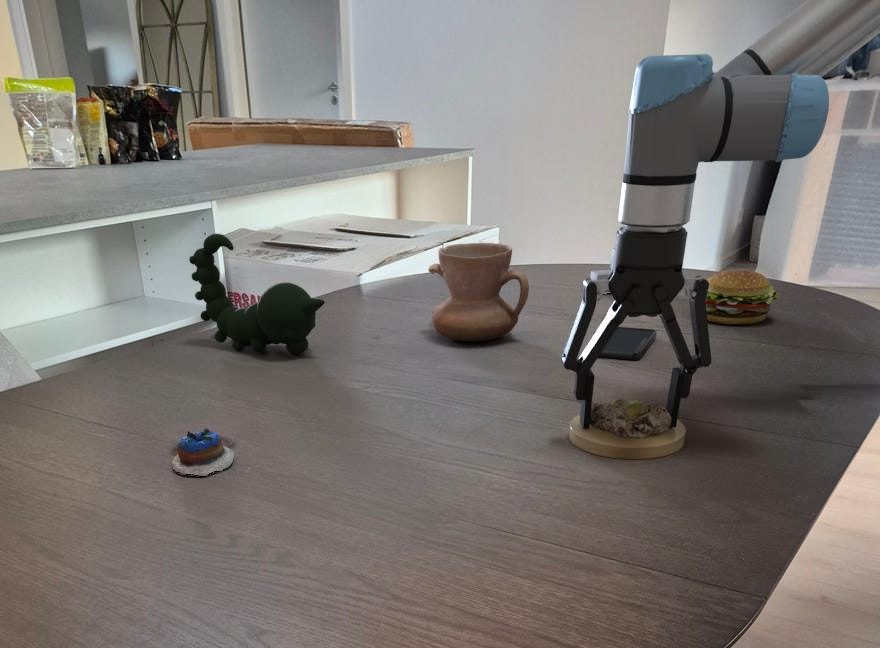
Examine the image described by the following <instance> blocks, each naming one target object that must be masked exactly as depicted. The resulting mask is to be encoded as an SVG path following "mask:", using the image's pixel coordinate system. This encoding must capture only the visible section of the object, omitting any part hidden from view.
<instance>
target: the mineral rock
mask: <svg viewBox="0 0 880 648" xmlns="http://www.w3.org/2000/svg"><path fill="white" fill-rule="evenodd" d="M590 425H592V426H593V427H595V428H596V427H597V428H599V429H601V430H606V431H611V432H614V433H616V434H617V435H619V436H622V437H629V438H632V437H638V438H645V437H646V436H648V435H649V434H655V433H659V432H660V433H661V432H663V431H664V430H667V429H668V427H669V426H670V425H671V417H670V414H669V413H667V410H666V407H664V406H659V405H658V404H656V405H655V404H652V403H651V404H645V403H643V400H642V399H636V400H631V401H629V400H627V399H624V398H617V399H616V400H614V401H613V402H607V403H599V402H593V401H592V406H591V416H590Z"/></svg>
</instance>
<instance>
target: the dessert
mask: <svg viewBox="0 0 880 648" xmlns="http://www.w3.org/2000/svg"><path fill="white" fill-rule="evenodd" d="M186 434H187V435H186V436H184V437H183V438H181V439H180V441H179V442H178V444H177V446H176V451H177V454H176V455H175V456H174V458H173V459H172V461H171V468H172V467H173V468H174V469H175V470H176V471H178V472H181V473H183V474H182V475H186V474H191V475H190V476H194V475H196V474H199V473H200V474H208V473H211V472H213V473H215V472H214V471H219V470H223V469H225V468H226V469H227V468H229V466H231V465H232V463H233V461H234V458H235V452H234V451H233V450H232V449H231V448H229V447H227V446H224V443H223V440H222V437H221V435H219V434H218V433H216V431H212V430H210V429H208V427H207V428H205V429H203V430H200V431H199V432H198V431H196V432H191V431H189V430H187V433H186ZM226 469H225V470H226ZM199 471H200V472H199ZM192 474H194V475H192Z"/></svg>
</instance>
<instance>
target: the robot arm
mask: <svg viewBox="0 0 880 648" xmlns="http://www.w3.org/2000/svg"><path fill="white" fill-rule="evenodd" d="M879 34H880V0H805V2H803V3H802V4H801V5H799V6H798V7H797V8H795V9H794V10H793V11H791V13H789V14H788V15H787V16H785V17H784V18H783V19H782V20H780V21H779V22H778V23H777V24H775V25H774V26H773V27H771V28H770V29H769V30H768V31H767V32H765V33H764V34H762V35H761V36H760V37H759V38H758V39H757V40H755V41H754V42H753V43H752V44H750V45H749V46H748V47H747V48H745V50H744V51H742V52H741V53H740V54H738V55H737V56H735V57H734V58H733V59H731V60H730V61H729V62H727V63H726V64H725V65H724V66H722V67H721V68H720V69H719V70H717V71H716V72H714V70H713V66H714V59H713V57H712V56H711V55H710V54H707V53H701V54H699V53H698V54H697V53H696V54H666V55H665V54H664V55H661V54H660V55H649V56H646V57H644V58H642V59H641V60H640V62H639V63H638V64H637V66H636V68H635V73H634V78H633V83H632V90H631V96H630V102H629V103H630V104H629V107H628V111H627V114H628V121H627V135H626V143H625V144H626V146H625V156H624V167H623V168H624V169H623V175H622V184H621V191H620V192H621V193H620V200H619V208H618V209H619V210H618V218H617V220H618V222H619V223H620V224H621V225H622V226H621V227H619V228H618V230H617V231H616V236H615V245H614V248H615V253H614V263H613V269H611V270H612V272H611V274H610V276H609V277H608V279H603V280H592V279H590V278H589V277H588V278H585V279H584V280H583V282H582V299H581V302H580V305H579V307H578V310H577V313H576V316H575V319H574V321H573V325H572V326H571V327H572V328H571V330H570V333H569V336H568V339H567V341H566V344H565V348H564V349H563V352H562V355H561V358H560V362H561V363H562V366H563V367H564V369H565V370H566V371H573V372H574V373H575V375H574V387H573V395H574V398H575V399H576V401H581V403H580V412H579V413H580V414H579V415H580V423H581V426H582V428H583V429H589V426H590V416H591V406H592V402H593V396H594V385H595V376H596V375H595V374H594V372H593V370H592V368H593V366H594V364H595V362H597V360H598V358H600V357H599V355H600V354H601V352H602V351H603V349H604V348H605V346H606V345H607V343H608V341H609V340H610V338H611V337H612V335H613V334H614V332H615V331H616V329H617V328H618V327H620V325H623V323H624V321H625V320H626V319H627V317H629V318H638V317H641V316H645V317H649V318H654V317H655V318H657V317H659V318H660V320H661V322H662V325H663V327H664V330H665V332H666V334H667V337H668V339H669V341H670V344H671V347H672V350H673V351H674V354H675V357H676V358H677V361H678V363H679V367H677V366H675V367H672V369H671V375H670V382H669V387H668V388H669V389H668V395H667V401H666V407H665V409H666V410H667V413H669V414H670V417H671V425H670V426H669V427H676V425H677V420H678V418H679V412H680V407H681V406H680V405H681V399H688V397H689V396H690V393H691V386H692V381H693V375H695V374H696V372H697V371H698V369H700V368H703V367H704V368H708V367H710V365H711V364H712V362H713V361H712V360H713V359H712V351H711V341H710V333H709V325H708V322H709V321H707V313H706V303H705V301H706V296H707V292H708V288H709V282H708V281H707V279H706V278H705V277H704V276H702V275H696V276H694V277H685V276H684V274H683V266H684V260H685V259H684V258H685V254H686V253H685V252H686V247H687V240H688V230H687V229H686V228H685V227H684V225H687V224H688V223H689V222H690V221H691V214H692V207H693V198H694V192H695V185H696V180H697V176H698V175H697V170H698V166H699V163H714V162H755V161H758V162H759V161H775V162H776V163H780V162H781V161H785V160H797V159H802V158H805V157H806V156H808V155H810V154H811V153H812V152H813V150H814V149H815V148H816V147H817V145H818V143H819V142H820V140H821V138H822V136H823V133H824V131H825V128H826V125H827V120H828V114H829V110H830V93H829V88H828V84H827V82H826V80H825V79H824V78H823V77H824V76H825V75H827V74H828V73H829V72H831V71H832V70H833V69H834V68H836V67H837V66H838V65H840V64H841V63H842V62H844V61H845V60H846V59H848V58H849V57H851V56H852V55H853V54H854V53H855V52H857V51H858V50H860V48H862V47H863V46H864V45H866V44H867V43H869V42H870V41H872V40H873V39H874V38H875V37H876V36H878V35H879ZM683 289H684V293H685V296H686V297H687V298H688V302H689V313H690V322H691V329H692V330H691V331H692V337H693V347H694V354H693V355H691V352H690V349H689V347H688V345H687V342H686V340H685V337H684V334H683V333H682V330H681V327H680V325H679V322H678V320H677V316H676V314H675V311H674V308H673V306H672V302H673V301H674V300H675V298H676V297H677V296H678V295H679V294H680V292H681V291H682V290H683ZM606 290H609V291H610V293H611V294H610V295H611V296H612V298H613V300H614V301H613V302H612V303H611V306H610V307H609V309H608V310H607V313H606V315H605V317H604V318H603V320H602V322H601V323H600V325H599V326H598V328H596V331H595V333H594V334H593V335H592V337H591V339H590V340H589V342H588V343H587V344H586V346H585V348H584V350H583V351H582V353H581V354H580V356H579V353H580V351H581V348H582V345H583V343H584V340H585V338H586V335H587V332H588V329H589V326H590V323H591V321H592V318H593V316H594V313H595V310H596V307H597V302H599V301H600V300H602V298H603V296H604V295H603V293H604V292H605V291H606Z"/></svg>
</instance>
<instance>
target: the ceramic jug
mask: <svg viewBox="0 0 880 648" xmlns="http://www.w3.org/2000/svg"><path fill="white" fill-rule="evenodd" d="M437 251H438V252H437V253H438V254H437V255H438V263H433V264H431V265H430V266H428V269H427V270H428V272H429V273H431V274H432V275H433V274H438V276H440V277H442V278H443V279H444V282H445V285H446V287H447V289H448V293H449V296H448V297H447V299H445V300H444V301H442V302H441V303H440V304H438V306H436V308H435V309H433V310H432V311H431V314H432V315H431V323H432V326H433V328H434V330H435V331H436V333H438V334H440V335H441V336H443V337H445V338H446V339H447V338H448V339H451V340H453V341H458V342H468V343H469V342H470V343H473V342H474V343H475V342H484V341H490V340H495V339H498V338H501V337H503V336H505V335H507V334H509V333H510V332H511V331H513V330H514V328H515V327H516V325H517V324H518V321H519V316H520V314H521V312H522V310H524V307H525V305H526V303H527V300H528V297H529V292H530V284H529V280H528V277H527V275H526V274H524V272H522V271H520V270H518V269H517V270H516V269H513V270H510V265H511V262H512V257H513V248H512V246H511V245H507V244H502V243H494V242H469V243H455V244H448V245H446V246H445V247H440V248H439V249H438V250H437ZM511 280H516V281H518V282H519V286H520V287H519V296H518V301H517V303H516V306H515V307H514V308H513V307H512V306H511V304H509V303H508V302H506V301H505V300H504V299H503V298H502V297H501V296H500V293H501V290H502V288H503V287H504V285H506V284H507V283H508V282H510V281H511Z"/></svg>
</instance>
